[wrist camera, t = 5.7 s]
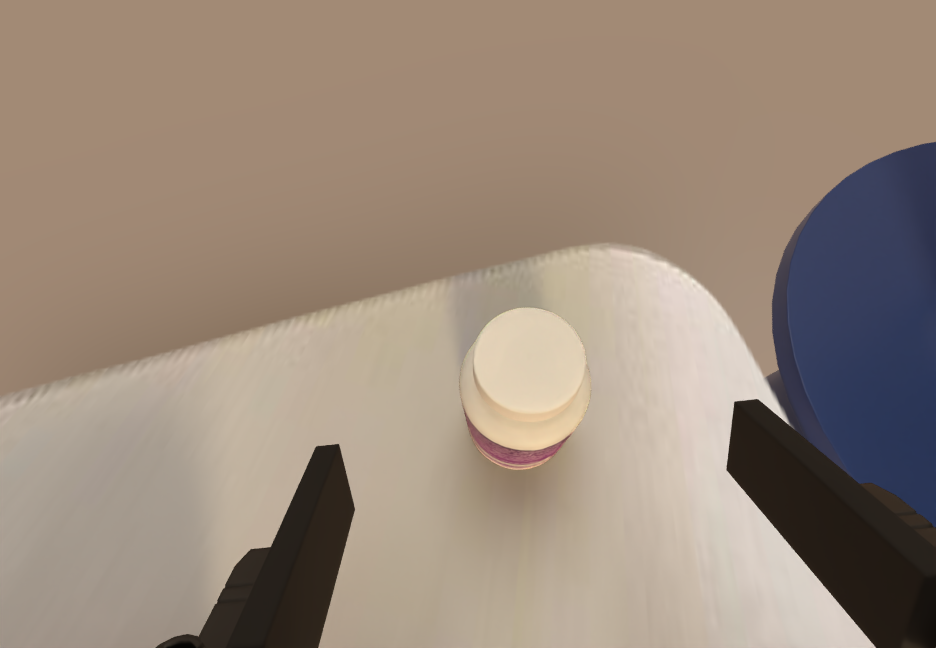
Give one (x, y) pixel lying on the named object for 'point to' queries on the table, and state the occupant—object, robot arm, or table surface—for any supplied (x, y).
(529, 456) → the pill bottle
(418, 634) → the table surface
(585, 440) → the table surface
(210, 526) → the table surface
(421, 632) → the table surface
